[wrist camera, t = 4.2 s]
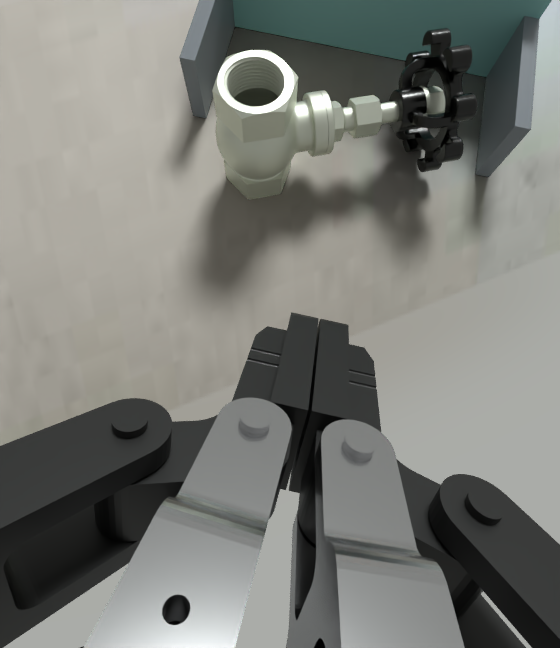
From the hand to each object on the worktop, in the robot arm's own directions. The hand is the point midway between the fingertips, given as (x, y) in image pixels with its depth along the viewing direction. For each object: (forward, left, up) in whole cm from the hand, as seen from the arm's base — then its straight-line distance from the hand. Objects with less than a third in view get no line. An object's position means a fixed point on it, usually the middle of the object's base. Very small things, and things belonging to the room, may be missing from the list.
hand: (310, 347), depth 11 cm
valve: (-1, +13, -11) cm, 17 cm away
